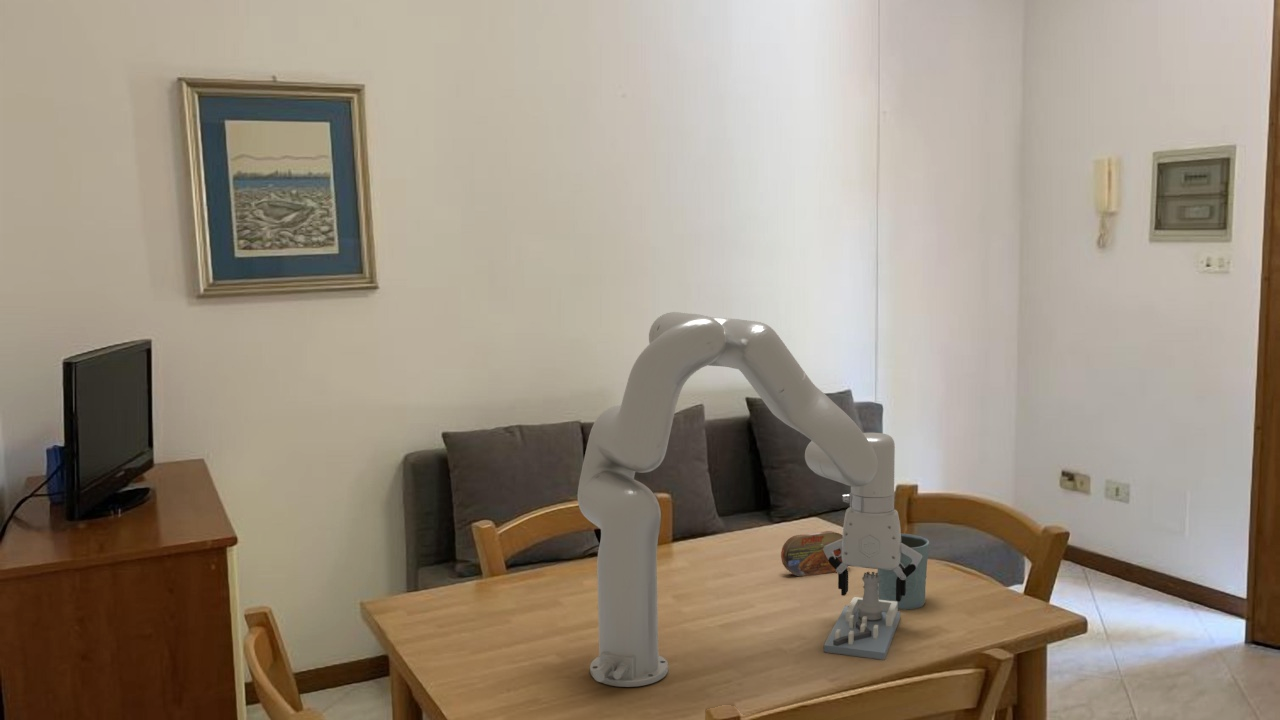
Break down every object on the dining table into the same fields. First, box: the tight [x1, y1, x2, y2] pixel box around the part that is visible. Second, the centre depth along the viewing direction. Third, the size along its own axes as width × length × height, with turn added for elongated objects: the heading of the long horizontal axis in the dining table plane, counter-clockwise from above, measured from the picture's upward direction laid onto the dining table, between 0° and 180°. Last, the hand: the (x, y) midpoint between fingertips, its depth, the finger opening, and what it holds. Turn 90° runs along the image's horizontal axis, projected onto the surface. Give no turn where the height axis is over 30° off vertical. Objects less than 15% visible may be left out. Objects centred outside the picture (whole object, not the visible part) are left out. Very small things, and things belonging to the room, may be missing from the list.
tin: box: [780, 530, 843, 578], centre depth 214 cm, size 15×3×8 cm, turn 108°
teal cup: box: [876, 533, 930, 610], centre depth 196 cm, size 10×10×12 cm
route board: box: [823, 596, 901, 661], centre depth 180 cm, size 20×10×3 cm, turn 159°
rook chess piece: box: [858, 571, 883, 621], centre depth 185 cm, size 4×4×8 cm
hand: (871, 596), depth 185 cm, fingers open, 9 cm apart
